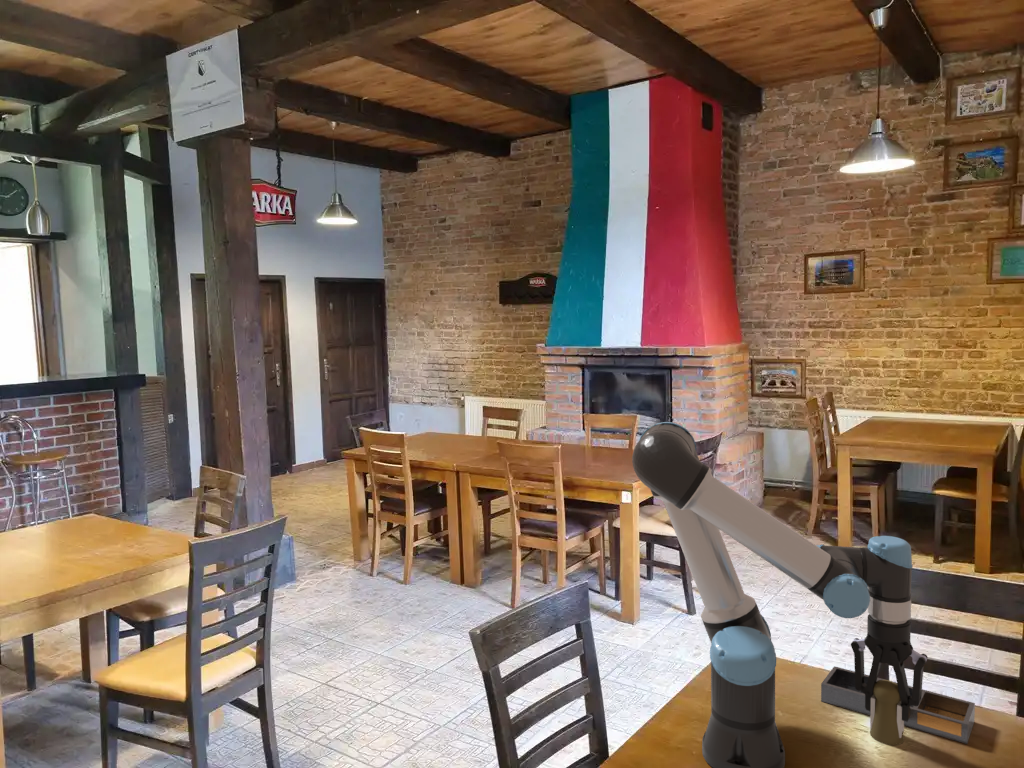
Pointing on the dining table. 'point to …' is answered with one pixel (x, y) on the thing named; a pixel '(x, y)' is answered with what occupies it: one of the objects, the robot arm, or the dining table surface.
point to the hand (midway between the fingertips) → (886, 730)
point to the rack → (928, 716)
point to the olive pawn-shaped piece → (886, 713)
